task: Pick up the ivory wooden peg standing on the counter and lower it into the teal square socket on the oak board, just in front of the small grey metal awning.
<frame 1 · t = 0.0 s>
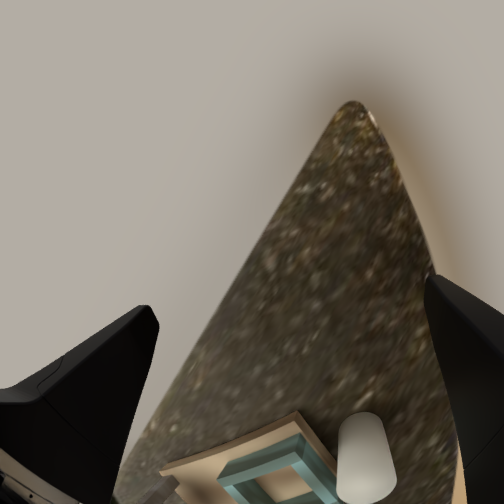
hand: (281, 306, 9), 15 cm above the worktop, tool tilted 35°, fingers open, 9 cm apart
socket board: (254, 477, 23), on the worktop
peg: (360, 430, 21), on the worktop
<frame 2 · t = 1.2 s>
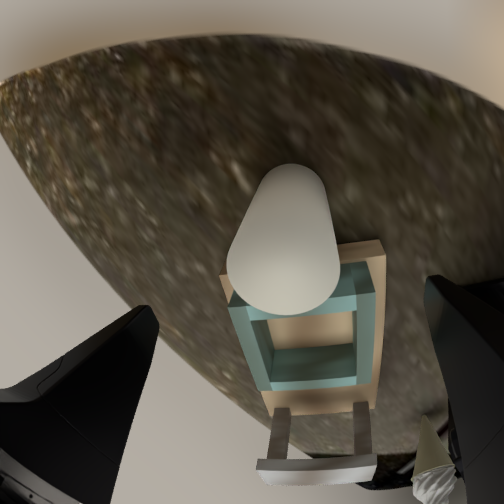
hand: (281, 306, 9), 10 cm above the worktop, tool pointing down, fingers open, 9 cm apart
socket board: (315, 338, 22), on the worktop
peg: (291, 196, 17), on the worktop
ice cream cone: (423, 414, 27), on the worktop
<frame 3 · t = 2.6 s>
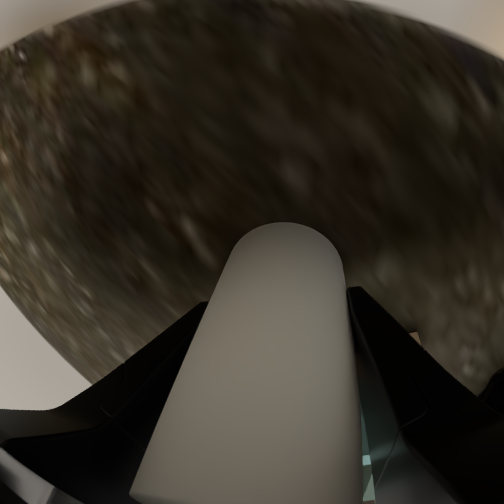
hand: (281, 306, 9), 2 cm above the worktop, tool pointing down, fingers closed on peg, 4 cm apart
socket board: (314, 431, 15), on the worktop
peg: (284, 276, 10), on the worktop, touching gripper
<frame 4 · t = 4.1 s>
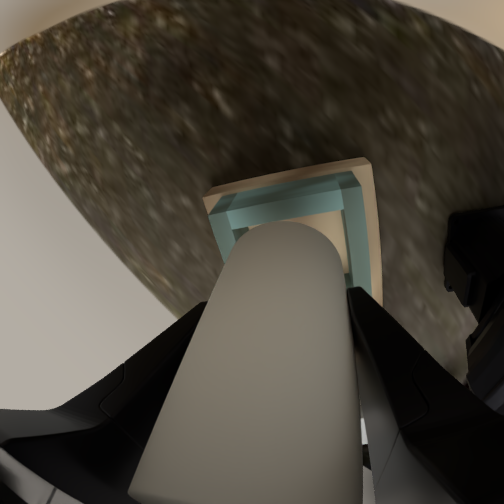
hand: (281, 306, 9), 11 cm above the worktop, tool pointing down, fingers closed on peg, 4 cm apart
socket board: (309, 277, 22), on the worktop
peg: (284, 275, 10), point 10 cm above the worktop, touching gripper
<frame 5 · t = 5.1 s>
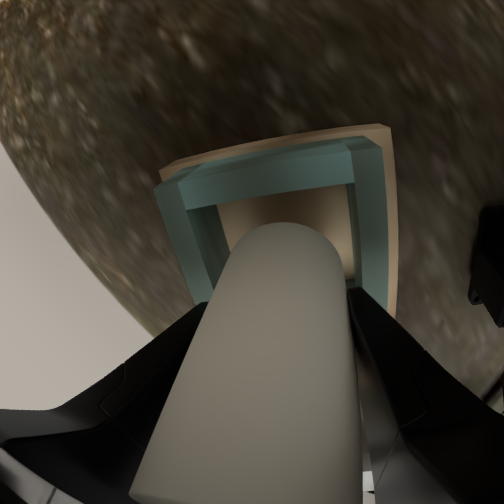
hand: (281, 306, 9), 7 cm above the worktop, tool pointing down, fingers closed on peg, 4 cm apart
socket board: (301, 282, 17), on the worktop
peg: (284, 276, 10), point 5 cm above the worktop, touching gripper
when the fingers open (5 cm above the worktop, at t = 5.7 s): peg drops 2 cm, resting on socket board.
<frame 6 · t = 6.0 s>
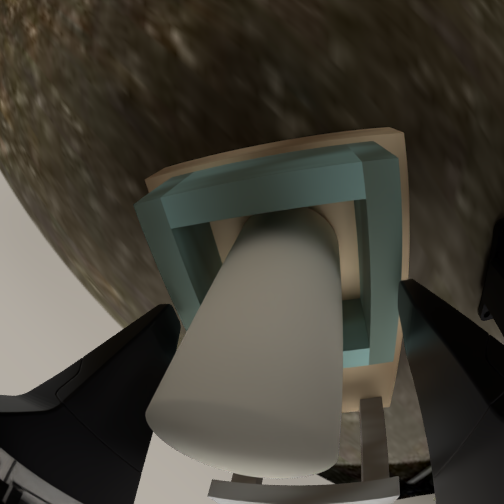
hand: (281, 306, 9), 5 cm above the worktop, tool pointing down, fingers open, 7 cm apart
socket board: (302, 298, 15), on the worktop
peg: (288, 251, 12), point 2 cm above the worktop, touching socket board
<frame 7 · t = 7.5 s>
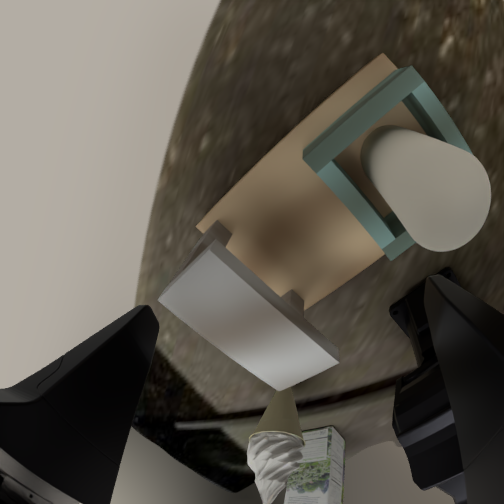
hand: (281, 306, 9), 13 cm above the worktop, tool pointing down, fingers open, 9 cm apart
socket board: (339, 188, 19), on the worktop
peg: (392, 157, 16), point 2 cm above the worktop, touching socket board
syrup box: (320, 434, 35), on the worktop
ice cream cone: (286, 374, 29), on the worktop
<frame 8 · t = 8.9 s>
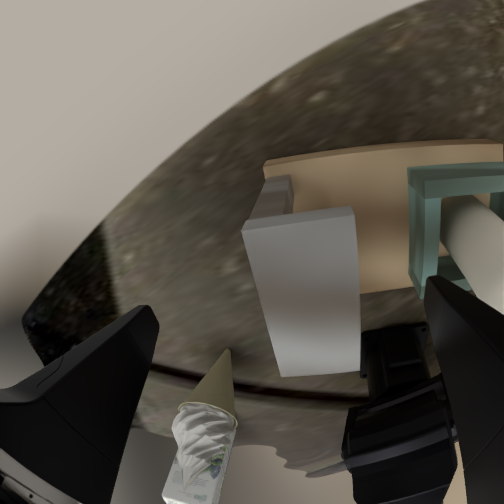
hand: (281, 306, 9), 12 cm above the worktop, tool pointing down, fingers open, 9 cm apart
socket board: (398, 213, 19), on the worktop
peg: (458, 219, 16), point 2 cm above the worktop, touching socket board
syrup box: (216, 416, 36), on the worktop
ice cream cone: (228, 348, 29), on the worktop
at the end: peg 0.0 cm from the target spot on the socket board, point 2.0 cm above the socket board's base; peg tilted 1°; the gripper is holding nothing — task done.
